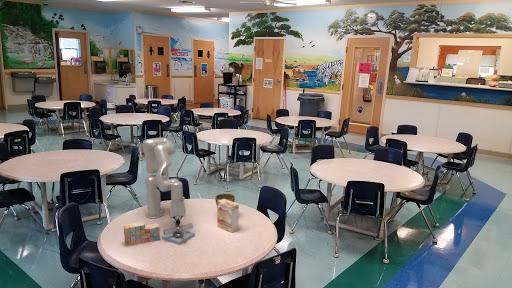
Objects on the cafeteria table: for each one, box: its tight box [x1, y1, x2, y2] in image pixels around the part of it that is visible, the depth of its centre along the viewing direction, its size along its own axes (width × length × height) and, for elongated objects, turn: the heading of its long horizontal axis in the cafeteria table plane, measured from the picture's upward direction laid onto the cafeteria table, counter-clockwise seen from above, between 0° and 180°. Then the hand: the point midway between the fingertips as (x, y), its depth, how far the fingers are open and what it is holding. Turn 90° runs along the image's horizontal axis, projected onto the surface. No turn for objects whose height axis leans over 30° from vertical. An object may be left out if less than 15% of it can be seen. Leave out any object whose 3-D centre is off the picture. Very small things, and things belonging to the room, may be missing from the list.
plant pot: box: [214, 193, 236, 206], centre depth 278 cm, size 15×15×16 cm
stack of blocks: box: [123, 221, 161, 247], centre depth 238 cm, size 21×6×12 cm, turn 117°
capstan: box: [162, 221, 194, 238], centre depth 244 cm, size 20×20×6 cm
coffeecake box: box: [216, 199, 240, 234], centre depth 258 cm, size 15×7×20 cm, turn 47°
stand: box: [161, 230, 196, 246], centre depth 244 cm, size 15×15×2 cm
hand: (178, 225), depth 251 cm, fingers closed
